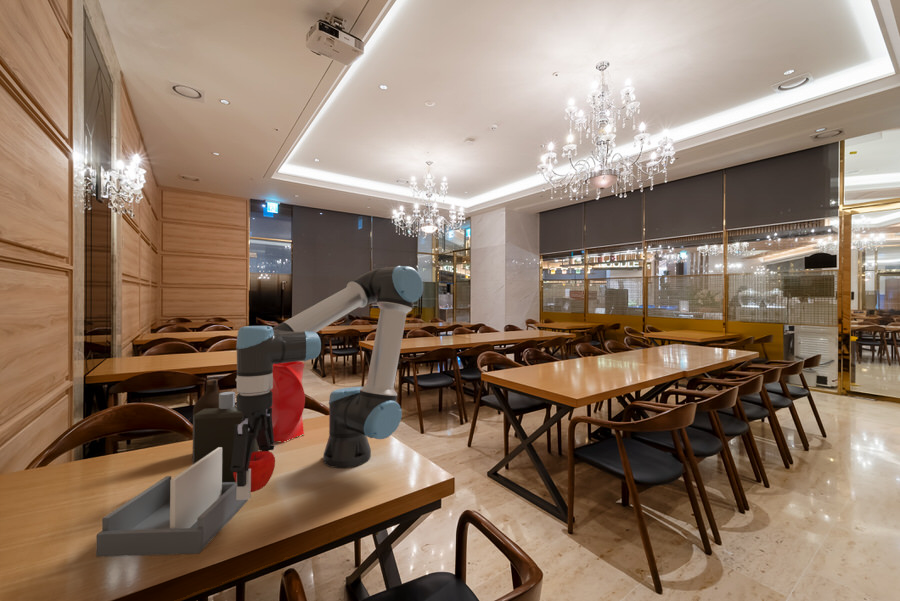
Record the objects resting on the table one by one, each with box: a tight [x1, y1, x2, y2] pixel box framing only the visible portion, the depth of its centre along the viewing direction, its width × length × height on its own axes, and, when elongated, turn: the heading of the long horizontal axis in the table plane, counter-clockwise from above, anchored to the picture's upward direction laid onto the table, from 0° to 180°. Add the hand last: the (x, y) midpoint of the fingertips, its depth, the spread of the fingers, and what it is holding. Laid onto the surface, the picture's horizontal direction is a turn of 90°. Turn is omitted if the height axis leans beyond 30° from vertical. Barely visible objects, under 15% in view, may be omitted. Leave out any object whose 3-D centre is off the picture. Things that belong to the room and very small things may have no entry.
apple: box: [233, 450, 276, 493], centre depth 86 cm, size 9×9×8 cm
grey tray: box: [95, 475, 249, 557], centre depth 85 cm, size 20×21×7 cm
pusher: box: [170, 447, 222, 529], centre depth 85 cm, size 6×17×13 cm, turn 3°
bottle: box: [191, 391, 259, 482], centre depth 107 cm, size 8×16×25 cm, turn 100°
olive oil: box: [192, 378, 221, 417], centre depth 125 cm, size 11×11×25 cm
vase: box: [269, 361, 306, 443], centre depth 142 cm, size 15×14×28 cm
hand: (253, 487), depth 86 cm, fingers closed on apple, 9 cm apart
